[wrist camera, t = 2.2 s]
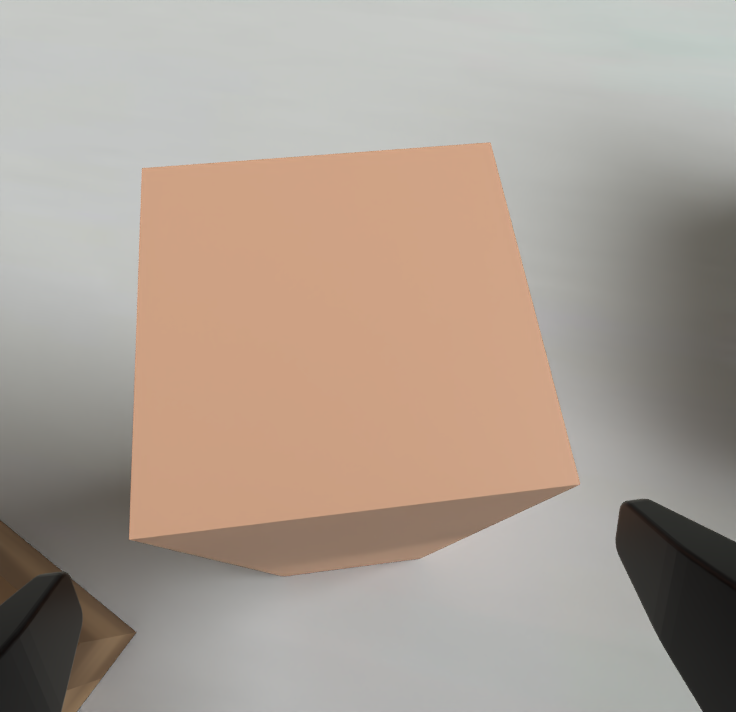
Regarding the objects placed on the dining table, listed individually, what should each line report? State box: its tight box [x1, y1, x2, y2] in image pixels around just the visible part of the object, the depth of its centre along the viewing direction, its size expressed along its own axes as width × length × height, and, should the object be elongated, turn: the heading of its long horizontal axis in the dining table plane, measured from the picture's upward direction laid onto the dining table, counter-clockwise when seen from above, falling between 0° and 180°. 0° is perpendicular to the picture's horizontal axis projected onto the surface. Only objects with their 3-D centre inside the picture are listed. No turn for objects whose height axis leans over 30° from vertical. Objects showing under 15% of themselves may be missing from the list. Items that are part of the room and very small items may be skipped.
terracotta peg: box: [129, 143, 580, 576], centre depth 13 cm, size 4×4×14 cm
